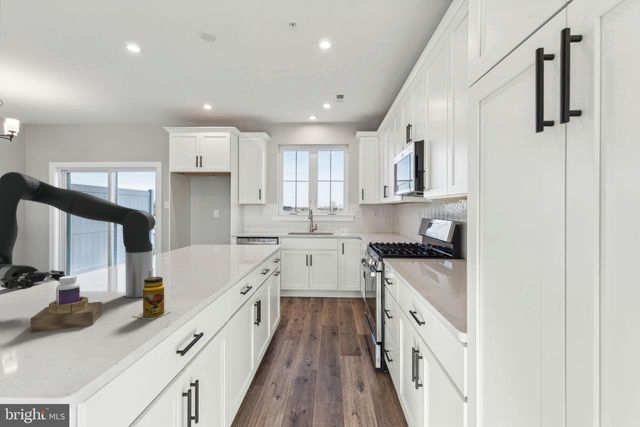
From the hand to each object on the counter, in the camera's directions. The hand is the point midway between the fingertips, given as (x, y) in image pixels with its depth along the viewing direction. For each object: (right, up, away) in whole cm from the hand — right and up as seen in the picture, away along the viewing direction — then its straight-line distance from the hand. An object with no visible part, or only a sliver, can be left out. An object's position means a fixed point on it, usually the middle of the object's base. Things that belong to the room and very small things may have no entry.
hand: (47, 281), depth 93 cm
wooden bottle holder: (+10, -12, -4) cm, 16 cm away
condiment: (+31, -12, +3) cm, 33 cm away
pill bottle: (+10, -8, -4) cm, 13 cm away
